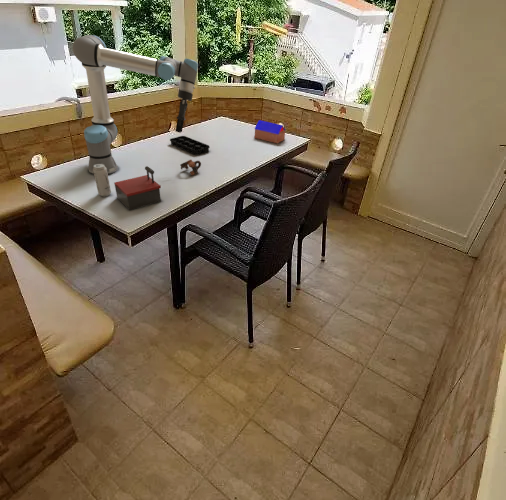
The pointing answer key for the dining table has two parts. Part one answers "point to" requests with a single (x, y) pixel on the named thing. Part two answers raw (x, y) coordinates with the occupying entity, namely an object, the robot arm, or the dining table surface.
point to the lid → (138, 184)
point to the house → (269, 132)
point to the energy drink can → (102, 180)
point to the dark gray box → (138, 198)
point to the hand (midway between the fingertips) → (178, 131)
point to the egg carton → (190, 145)
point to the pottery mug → (192, 165)
